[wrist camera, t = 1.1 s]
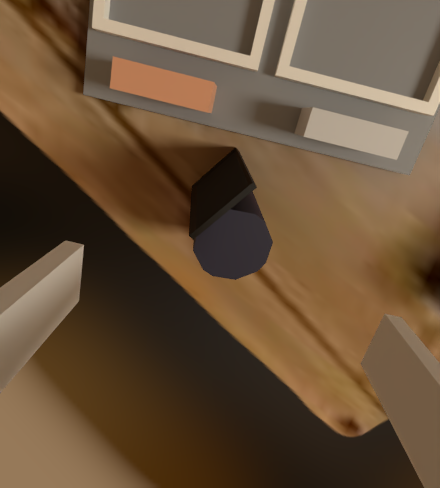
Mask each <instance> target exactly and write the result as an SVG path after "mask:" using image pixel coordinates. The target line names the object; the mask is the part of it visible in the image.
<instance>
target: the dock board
mask: <svg viewBox="0 0 440 488" xmlns="http://www.w3.org/2000/svg"><path fill="white" fill-rule="evenodd" d="M83 95H87V96H91V97H95V98H99V99H104V100H108V101H112V102H116V103H120V104H124V105H128V106H132V107H136V108H140V109H144V110H148V111H152V112H156V113H160V114H164V115H168V116H172V117H176V118H180V119H184V120H188V121H192V122H196V123H200V124H204V125H208V126H212V127H216V128H220V129H224V130H228V131H232V132H236V133H240V134H245V135H249V136H253V137H257V138H261V139H265V140H269V141H273V142H277V143H281V144H285V145H289V146H293V147H297V148H301V149H305V150H309V151H313V152H317V153H321V154H325V155H329V156H333V157H337V158H341V159H345V160H349V161H353V162H357V163H361V164H365V165H369V166H373V167H377V168H381V169H386V170H390V171H394V172H398V173H402V174H406V175H410V173H411V171H412V169H413V167H414V164H415V162H416V160H417V158H418V155H419V153H420V151H421V149H422V146H423V144H424V142H425V140H426V137H427V135H428V133H429V131H430V128H431V126H432V124H433V122H434V119H435V117H436V115H437V113H438V110H439V108H440V0H90V7H89V21H88V35H87V49H86V63H85V77H84V91H83Z"/></svg>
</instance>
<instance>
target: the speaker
mask: <svg viewBox="0 0 440 488" xmlns="http://www.w3.org/2000/svg"><path fill="white" fill-rule="evenodd" d="M255 188H257V187H256V185H255V183H254V181H253V179H252V177H251V175H250V173H249V171H248V169H247V167H246V165H245V163H244V160H243V158H242V156H241V154H240V152H239V151H238V149H237V148H235V149H233V150H232V151H231V152H230V153H229V154H228V155H227V156H226V157H224V158H223V159H222V160H221V161H220V162H219V163H218V164H216V165H215V166H214V167H213V168H212V169H211V170H210V171H209V172H207V173H206V174H205V175H204V176H203V177H202V178H201V179H200V180H198V181H197V182H196V183H195V184H194V185H193V186H192V194H191V211H190V228H189V236H190V237H191V238H192V239H193V240H194V245H193V251H194V253H195V255H196V257H197V259H198V261H199V262H200V264H201V266H202V268H203V270H205V271H206V272H208V273H209V274H210V275H212V276H216V277H222V278H229V279H235V280H236V279H238V278H241V277H244V276H246V275H249V274H251V273H254V272H257V271H258V270H259V269H260V268H261V267H262V266H263V265H264V264H265V263H266V261H267V258H268V255H269V252H270V249H271V246H272V243H273V241H272V239H271V236H270V234H269V231H268V229H267V226H266V223H265V221H264V218H263V216H262V214H261V211H260V209H259V206H258V204H257V202H256V199H255V197H254V194H253V192H252V191H253V190H254V189H255Z"/></svg>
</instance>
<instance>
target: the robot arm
mask: <svg viewBox="0 0 440 488" xmlns="http://www.w3.org/2000/svg"><path fill="white" fill-rule="evenodd" d="M83 248H84V245H82V244H78V243H74V242H69V241H64V242H63V243H62V244H60V245H59V246H57V247H56V248H55V249H53V250H52V251H50V252H49V253H48V254H46V255H45V256H44V257H42V258H41V259H39V260H38V261H37V262H35V263H34V264H32V265H31V266H30V267H28V268H27V269H26V270H24V271H23V272H21V273H20V274H19V275H17V276H16V277H15V278H13V279H12V280H10V281H9V282H8V283H6V284H5V285H3V286H2V287H1V288H0V393H1V391H2V390H3V389H4V388H5V387H6V385H7V384H8V383H9V382H10V381H11V380H12V379H13V377H14V376H15V375H16V374H17V373H18V372H19V370H20V369H21V368H22V367H23V366H24V365H25V363H26V362H27V361H28V360H29V359H30V358H31V356H32V355H33V354H34V352H36V350H37V349H38V348H39V347H40V346H41V345H42V343H43V342H44V341H45V340H46V339H47V338H48V336H49V335H50V334H51V333H52V332H53V331H54V329H55V328H56V327H57V326H58V325H59V324H60V322H61V321H62V320H63V319H64V318H65V317H66V315H67V314H68V313H69V312H70V311H71V309H72V308H73V307H74V306H75V305H76V304H77V302H78V301H79V293H80V281H81V269H82V259H83ZM361 365H362V367H363V369H364V371H365V373H366V375H367V377H368V379H369V381H370V383H371V385H372V387H373V389H374V390H375V392H376V394H377V396H378V398H379V400H380V402H381V404H382V406H383V408H384V410H385V412H386V414H387V416H388V418H389V420H390V422H391V423H392V425H393V427H394V429H395V431H396V433H397V435H398V437H399V439H400V441H401V443H402V445H403V447H404V449H405V451H406V453H407V455H408V457H409V459H410V461H411V463H412V465H413V466H414V468H415V470H416V472H417V474H418V476H419V478H420V480H421V482H422V484H423V486H424V488H440V363H439V362H438V361H437V359H436V358H435V357H434V356H433V355H432V353H431V352H430V351H429V350H428V349H427V347H426V346H425V345H424V344H423V343H422V341H421V340H420V339H419V338H418V337H417V335H416V334H415V333H414V332H413V331H412V329H411V328H410V327H409V326H408V325H407V323H406V322H405V321H404V320H403V319H402V318H401V317H397V316H392V315H388V314H384V316H383V318H382V320H381V322H380V325H379V327H378V329H377V331H376V333H375V335H374V337H373V339H372V341H371V343H370V345H369V347H368V349H367V351H366V353H365V356H364V358H363V360H362V362H361Z"/></svg>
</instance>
